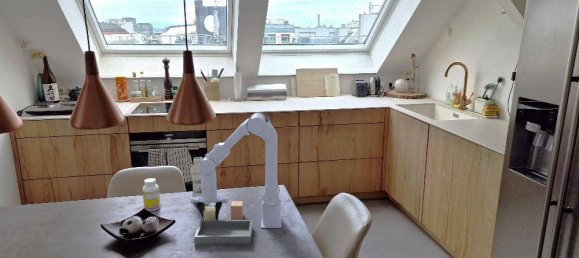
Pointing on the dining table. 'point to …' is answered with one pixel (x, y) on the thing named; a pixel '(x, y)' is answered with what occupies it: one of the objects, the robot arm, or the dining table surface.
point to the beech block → (209, 213)
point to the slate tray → (223, 232)
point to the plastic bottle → (196, 177)
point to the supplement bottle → (151, 195)
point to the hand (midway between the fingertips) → (210, 219)
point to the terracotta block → (237, 210)
